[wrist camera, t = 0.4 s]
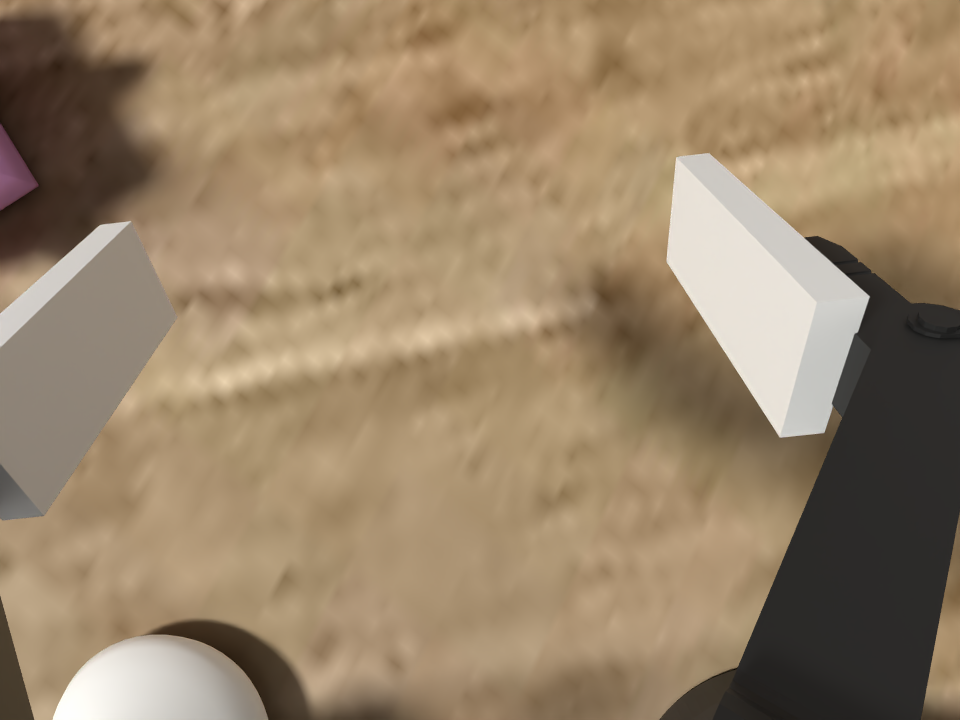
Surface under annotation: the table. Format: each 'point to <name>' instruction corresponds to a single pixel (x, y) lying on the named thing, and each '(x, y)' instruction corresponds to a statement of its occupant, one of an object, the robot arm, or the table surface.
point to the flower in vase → (160, 684)
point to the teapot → (13, 172)
